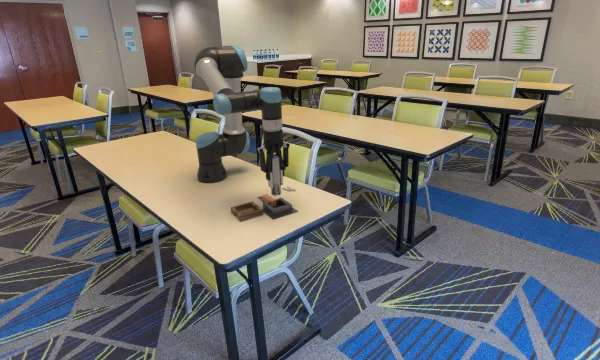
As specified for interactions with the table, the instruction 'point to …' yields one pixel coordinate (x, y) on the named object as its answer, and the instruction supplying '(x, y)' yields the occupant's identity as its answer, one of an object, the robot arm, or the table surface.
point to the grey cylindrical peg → (276, 175)
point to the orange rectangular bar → (269, 199)
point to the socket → (277, 208)
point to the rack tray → (247, 211)
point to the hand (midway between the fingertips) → (275, 185)
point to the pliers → (290, 189)
